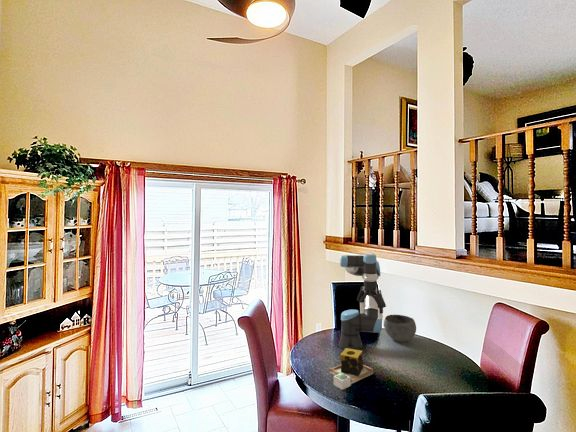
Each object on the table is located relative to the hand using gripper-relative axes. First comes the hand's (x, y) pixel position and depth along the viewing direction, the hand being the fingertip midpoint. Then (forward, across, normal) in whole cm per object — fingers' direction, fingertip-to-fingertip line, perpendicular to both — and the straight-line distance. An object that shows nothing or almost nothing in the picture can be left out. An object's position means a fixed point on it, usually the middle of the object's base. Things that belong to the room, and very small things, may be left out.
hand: (370, 315), depth 191 cm
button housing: (+27, +9, -34) cm, 44 cm away
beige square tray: (+27, +3, -21) cm, 34 cm away
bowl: (+27, -8, +39) cm, 48 cm away
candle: (+26, +3, -20) cm, 33 cm away
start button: (+25, +9, -34) cm, 43 cm away
